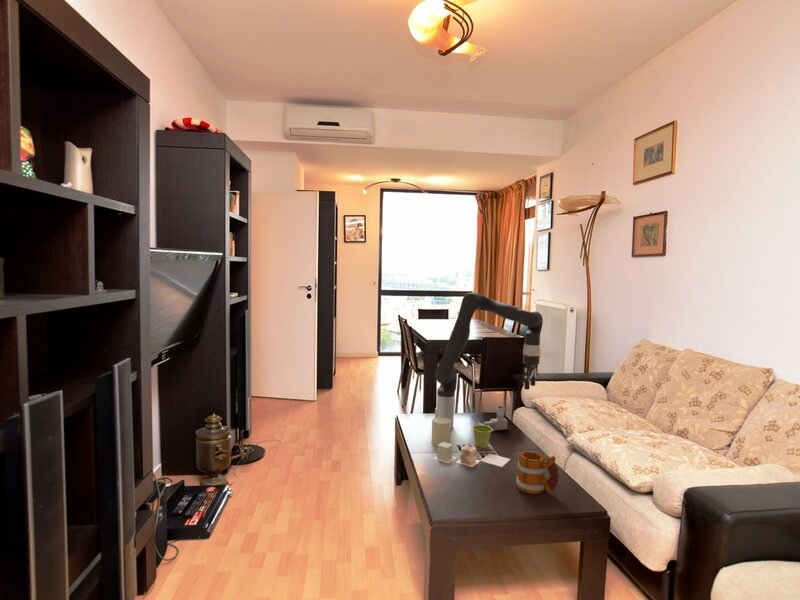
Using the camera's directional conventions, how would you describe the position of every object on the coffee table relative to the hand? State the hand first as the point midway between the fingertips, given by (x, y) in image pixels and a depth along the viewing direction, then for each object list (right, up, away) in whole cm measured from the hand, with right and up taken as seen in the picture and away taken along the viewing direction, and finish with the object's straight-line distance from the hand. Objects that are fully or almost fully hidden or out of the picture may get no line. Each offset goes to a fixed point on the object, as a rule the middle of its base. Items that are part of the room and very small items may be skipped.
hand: (529, 387), depth 212 cm
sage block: (-42, -29, -14) cm, 52 cm away
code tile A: (-32, -30, -17) cm, 47 cm away
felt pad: (-19, -30, -14) cm, 38 cm away
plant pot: (-22, -29, +2) cm, 37 cm away
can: (-42, -28, +4) cm, 51 cm away
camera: (-12, -28, +26) cm, 40 cm away
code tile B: (-42, -29, -14) cm, 53 cm away
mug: (-9, -32, -40) cm, 52 cm away
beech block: (-32, -29, -17) cm, 46 cm away
